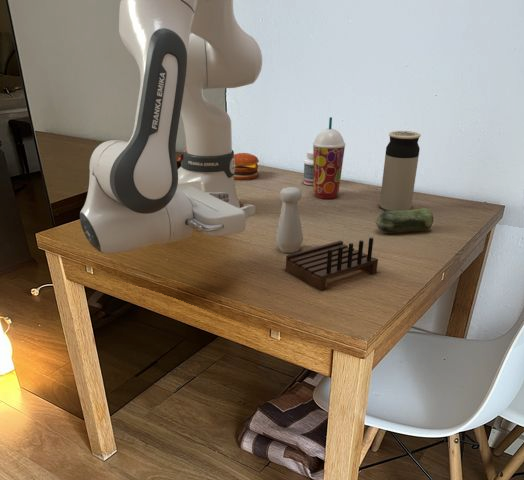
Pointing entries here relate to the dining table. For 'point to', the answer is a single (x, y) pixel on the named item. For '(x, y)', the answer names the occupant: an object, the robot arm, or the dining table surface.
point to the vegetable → (405, 220)
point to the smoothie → (328, 162)
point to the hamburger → (245, 166)
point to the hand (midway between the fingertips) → (239, 202)
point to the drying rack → (330, 262)
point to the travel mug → (399, 170)
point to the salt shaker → (289, 221)
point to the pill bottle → (309, 169)
